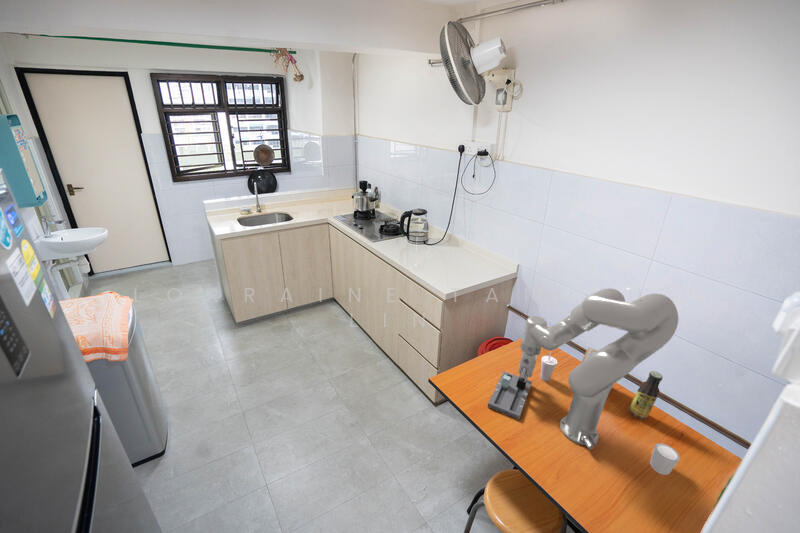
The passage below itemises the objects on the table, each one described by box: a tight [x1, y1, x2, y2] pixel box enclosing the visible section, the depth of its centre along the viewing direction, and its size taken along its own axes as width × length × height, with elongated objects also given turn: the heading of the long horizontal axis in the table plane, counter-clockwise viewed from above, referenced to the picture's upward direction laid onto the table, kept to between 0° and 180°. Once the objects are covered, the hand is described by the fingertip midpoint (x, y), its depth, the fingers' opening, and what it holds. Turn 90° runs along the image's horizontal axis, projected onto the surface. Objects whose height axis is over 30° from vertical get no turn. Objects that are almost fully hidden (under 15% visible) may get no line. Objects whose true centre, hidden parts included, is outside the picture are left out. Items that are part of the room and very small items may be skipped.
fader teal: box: [501, 375, 511, 390], centre depth 147 cm, size 2×3×5 cm
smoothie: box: [540, 351, 558, 382], centre depth 154 cm, size 6×6×14 cm
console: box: [487, 371, 533, 421], centre depth 146 cm, size 22×12×2 cm, turn 150°
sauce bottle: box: [628, 370, 664, 421], centre depth 136 cm, size 7×6×20 cm
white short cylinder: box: [649, 443, 681, 476], centre depth 118 cm, size 7×7×7 cm
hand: (523, 381), depth 148 cm, fingers open, 9 cm apart
